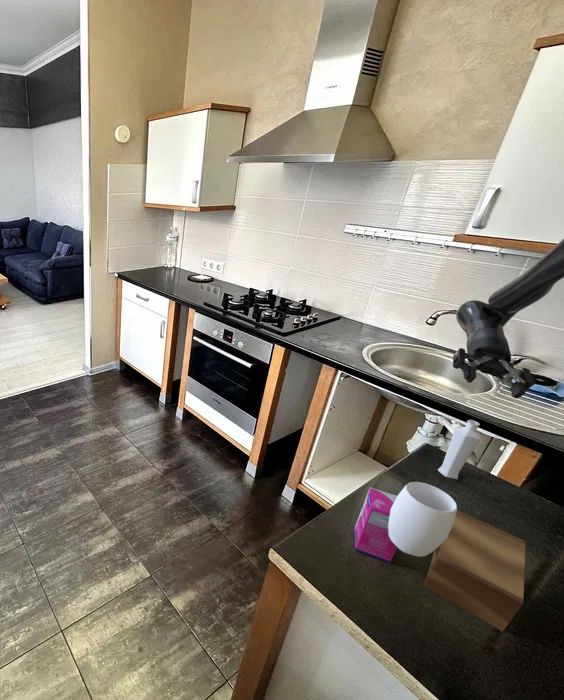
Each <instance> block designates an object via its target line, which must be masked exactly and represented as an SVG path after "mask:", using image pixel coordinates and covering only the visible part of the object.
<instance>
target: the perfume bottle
mask: <svg viewBox="0 0 564 700" xmlns="http://www.w3.org/2000/svg"><path fill="white" fill-rule="evenodd" d="M480 426H481V424H480V422H478V421H475V420H473V419H468V420H466V424H465V426H459V427H455V428H454V431H453V433H452V437H451V439H450V441H449V445H448V448H447V450H446V453H445V456H444V458H443V462H442V465H441V466H439V468H438V469H437V471H438V472H439V473H440V474H441V475H442V476H444V477H445V478H448V479H454V480H459V473H460V472H461V470H462V469H463V467H464V465H465V464H466V462H467V461H468V460H469V458H470V456H471V455H472V453H473V452H474V451H475V448H477V446H478V445H479V443H480V441H481V440H482V436H481V433H480V432H479V431H478V430H477V429H478V427H480Z"/></svg>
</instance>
